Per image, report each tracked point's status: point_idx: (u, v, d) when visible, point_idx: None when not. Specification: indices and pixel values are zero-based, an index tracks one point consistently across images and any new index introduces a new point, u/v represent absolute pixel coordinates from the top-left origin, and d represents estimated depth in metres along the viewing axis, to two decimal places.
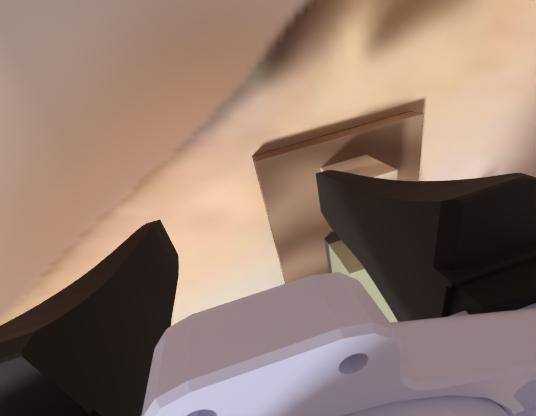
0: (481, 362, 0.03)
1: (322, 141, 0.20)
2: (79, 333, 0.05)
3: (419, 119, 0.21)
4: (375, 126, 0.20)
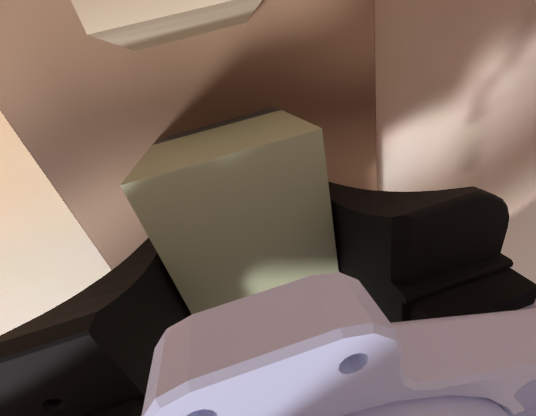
0: (481, 362, 0.03)
1: None
2: (130, 317, 0.05)
3: None
4: None
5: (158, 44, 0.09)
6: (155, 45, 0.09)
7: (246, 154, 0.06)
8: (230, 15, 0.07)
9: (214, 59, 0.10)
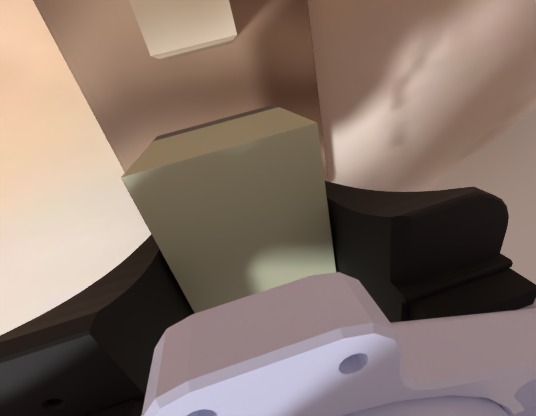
0: (481, 362, 0.03)
1: None
2: (131, 317, 0.05)
3: None
4: None
5: (178, 56, 0.15)
6: (176, 57, 0.15)
7: (244, 148, 0.06)
8: (220, 42, 0.13)
9: (211, 65, 0.16)
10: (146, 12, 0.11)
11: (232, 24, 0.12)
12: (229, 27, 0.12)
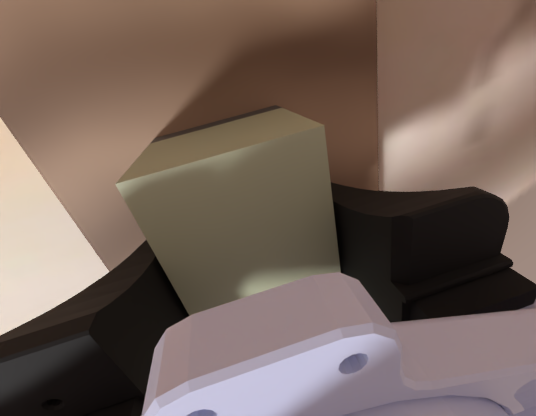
0: (481, 362, 0.03)
1: None
2: (130, 317, 0.05)
3: None
4: None
5: None
6: None
7: (246, 152, 0.06)
8: None
9: None
10: None
11: None
12: None
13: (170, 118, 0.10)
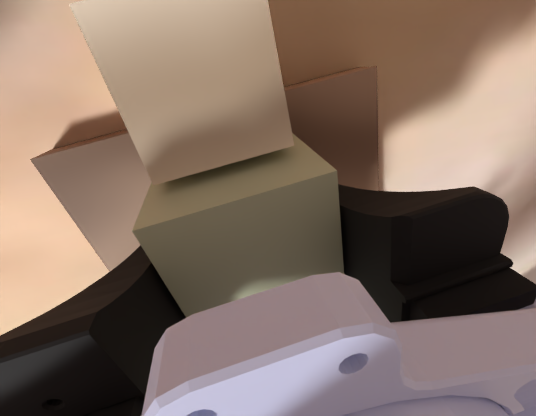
0: (481, 362, 0.03)
1: None
2: (130, 317, 0.05)
3: (370, 78, 0.11)
4: None
5: None
6: None
7: (260, 197, 0.06)
8: None
9: None
10: (146, 124, 0.06)
11: (288, 131, 0.07)
12: (282, 136, 0.07)
13: None
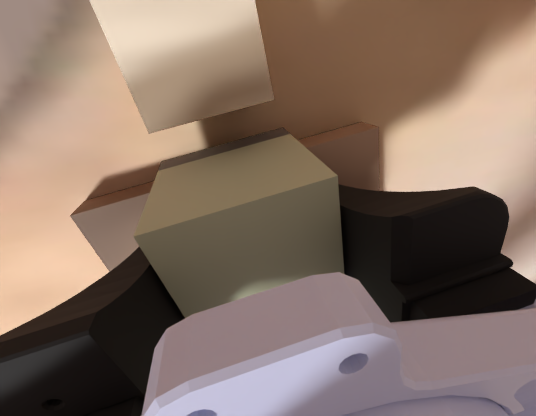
0: (481, 362, 0.03)
1: None
2: (130, 317, 0.05)
3: (372, 136, 0.12)
4: None
5: (175, 122, 0.08)
6: (172, 123, 0.08)
7: (261, 202, 0.06)
8: (231, 18, 0.07)
9: None
10: None
11: None
12: None
13: None
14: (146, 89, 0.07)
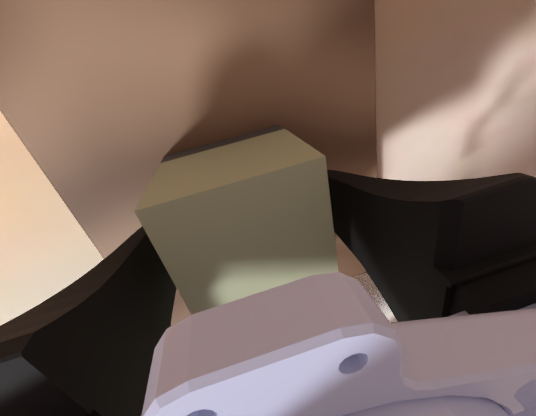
0: (481, 362, 0.03)
1: None
2: (79, 333, 0.05)
3: None
4: None
5: None
6: None
7: (253, 181, 0.07)
8: None
9: (230, 114, 0.10)
10: None
11: None
12: None
13: None
14: None
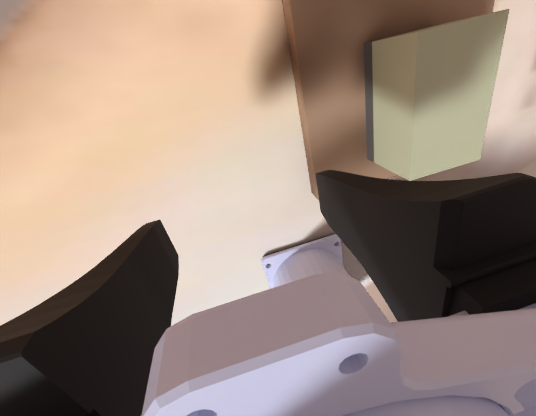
0: (481, 362, 0.03)
1: None
2: (79, 333, 0.05)
3: None
4: None
5: None
6: None
7: (473, 20, 0.13)
8: None
9: (407, 16, 0.17)
10: None
11: None
12: None
13: None
14: None
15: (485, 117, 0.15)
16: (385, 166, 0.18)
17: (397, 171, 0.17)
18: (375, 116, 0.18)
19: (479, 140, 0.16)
